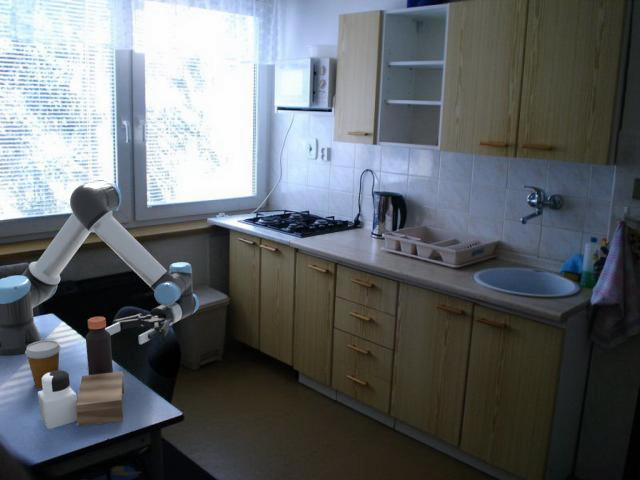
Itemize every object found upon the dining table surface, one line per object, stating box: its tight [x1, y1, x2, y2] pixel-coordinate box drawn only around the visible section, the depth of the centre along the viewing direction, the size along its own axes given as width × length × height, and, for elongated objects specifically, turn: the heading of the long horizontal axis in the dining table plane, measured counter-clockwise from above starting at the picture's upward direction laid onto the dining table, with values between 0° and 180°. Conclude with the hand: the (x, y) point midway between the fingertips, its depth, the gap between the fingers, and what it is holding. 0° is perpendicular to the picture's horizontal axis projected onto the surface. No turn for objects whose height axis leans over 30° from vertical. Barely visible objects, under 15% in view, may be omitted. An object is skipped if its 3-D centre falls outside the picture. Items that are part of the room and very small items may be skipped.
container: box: [37, 369, 78, 430], centre depth 162 cm, size 8×8×13 cm
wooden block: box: [76, 371, 125, 428], centre depth 169 cm, size 18×11×6 cm, turn 16°
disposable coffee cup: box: [25, 339, 62, 389], centre depth 183 cm, size 10×10×12 cm
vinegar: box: [85, 316, 114, 375], centre depth 182 cm, size 7×7×20 cm
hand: (121, 336), depth 191 cm, fingers open, 13 cm apart
